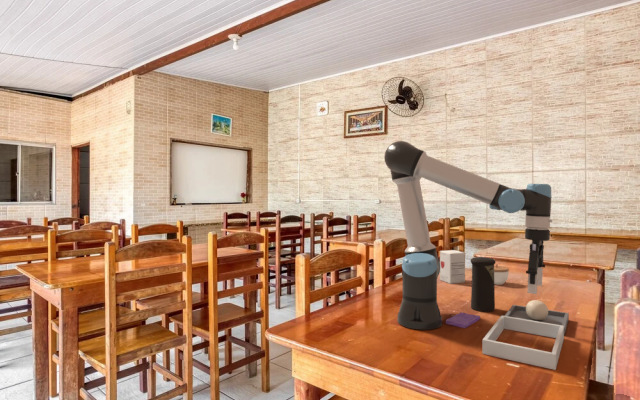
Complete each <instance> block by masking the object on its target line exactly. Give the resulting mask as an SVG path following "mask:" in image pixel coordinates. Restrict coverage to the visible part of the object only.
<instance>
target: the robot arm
mask: <svg viewBox="0 0 640 400" xmlns="http://www.w3.org/2000/svg"><path fill="white" fill-rule="evenodd" d="M384 163H385V165H386V167H387V168H388V169H389V171H390V176H391V179H392V182H393V183H394V184H396V186H397V192H398V197H399V203H400V209H401V214H402V221H403V225H404V231H405V237H406V243H407V247H406V248H405V250H404V254H405V256H403V258H402V262H401V269H402V299H401V300H402V301H401V303H400V306H399V310H398V313H397V323H398V324H399V325H400V326H402V327H405V328H408V329H413V330H419V331H421V330H424V331H425V330H427V331H428V330H436V329H438V328H440V327H442V325H443V316H442V314H441V311H440V307H439V304H438V300H437V299H438V297H437V296H438V291H437V290H438V288H437V287H438V277H439V276H440V258H438V253H437V247H436V245H435V244H433V243H432V242H431V237H430V232H429V227H428V221H427V220H428V219H427V216H426V209H425V204H424V199H423V192H422V187H421V179H422V178H423V179H424V180H428V181H430V182H432V183H435V184H438V185H440V186H443V187H445V188H447V189H450V190H453V191H455V192H458V193H460V194H463V195H464V196H467V197H470V198H472V199H474V200H477V201H479V202H482V203H484V204H486V205H489V208H490V209H491V210H494V211H495V210H497V211H501V210H502V211H503V212H505V213H508V214H514V213H517V212H518V213H519V211H525V223H524V224H525V227H526V228H525V230H524V238H525V239H526V240H530V241H531V243H530V244H529V257H528V266H527V269H526V270H525V274H527V276H528V277H527V293H528V294H531V295H532V294H533V295H538V294H537V293H538V287H542V286H543V274H544V273H543V271H544V268H546V264H545V262H544V250H545V245H544V242H547V241H550V236H551V230H550V228H551V223H553V219H552V218H551V213H552V211H551V210H552V199H553V197H552V186H551V185H550V184H548V183H528V184H527V186H526V188H523V189H520V188H519V189H518V188H517V189H516V188H511V187H509V186H507V185H504V184H501V183H499V182H497V181H493V180H491V179H488V178H487V177H483V176H482V175H481V176H480V175H478V174H475V173H473V172H470V171H468V170H465V169H463V168H460V167H458V166H455V165H453V164H450V163H448V162H445V161H442V160H440V159H437V158H434V157H431V156H429V155H428V154H427V152H426V151H424V150H422V149H420V148H417V147H416V146H415V145H413V144H411V143H409V142H407V141H406V140H398V141H394V142H392V143H391V144H389V145H388V147H386V149H385V152H384Z"/></svg>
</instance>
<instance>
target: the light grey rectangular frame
mask: <svg viewBox="0 0 640 400" xmlns="http://www.w3.org/2000/svg"><path fill="white" fill-rule="evenodd" d="M504 330H510V331H515V332H520V333H526V334H530V335H535V336H536V335H537V336H542V337H547V338H548V337H549V338H553V339H555V341H554V345H553V347H552V349H551V350H552V351H551V352H550V351H545V350H541V349H536V348H531V347H526V346H521V345H517V344H511V343H507V342H501V341H497V340H498V338H499V337H500V336H501V334H502V332H503V331H504ZM564 337H565V336H564V326H562V325H556V324H550V323H544V322H538V321H532V320H526V319H520V318H514V317H508V316H505V315H500V317H499V318H498V319H497V321H496V322H495V323H494V324H493V326H492V327H491V328H490V329H489V331H488V332H487V333H486V334H485V336H484V337H483V338H482V341H481V342H482V346H481V347H482V352H481V353H482V354H483V355H487V356H491V357H495V358H500V359H504V360H510V361H513V362H518V363H523V364H527V365H531V366H536V367H540V368H545V369H550V370H554V371H556V369H557V366H558V362H559V360H560V359H559V358H560V355H561V350H562V348H563V343H564Z"/></svg>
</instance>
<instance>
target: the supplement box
mask: <svg viewBox="0 0 640 400" xmlns="http://www.w3.org/2000/svg"><path fill="white" fill-rule="evenodd" d="M439 262H440V273H439V281H442V282H445V283H448V284H450V285H453V284H461V283H465V282H466V252H464V251H459V250H456V249H455V250H454V249H449V250H439Z"/></svg>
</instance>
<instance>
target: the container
mask: <svg viewBox="0 0 640 400" xmlns="http://www.w3.org/2000/svg"><path fill="white" fill-rule="evenodd" d="M470 263H471V297H470V308H471V309H472V310H474V311H478V312H485V313H487V312H488V313H489V312H494V311H495V307H496V299H495V298H496V297H495V296H496V295H495V294H496V293H495V289H496V288H495V285H494V266H496V260H495V259H494V258H491V257H486V256H483V257H482V256H477V257H471V259H470Z"/></svg>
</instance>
